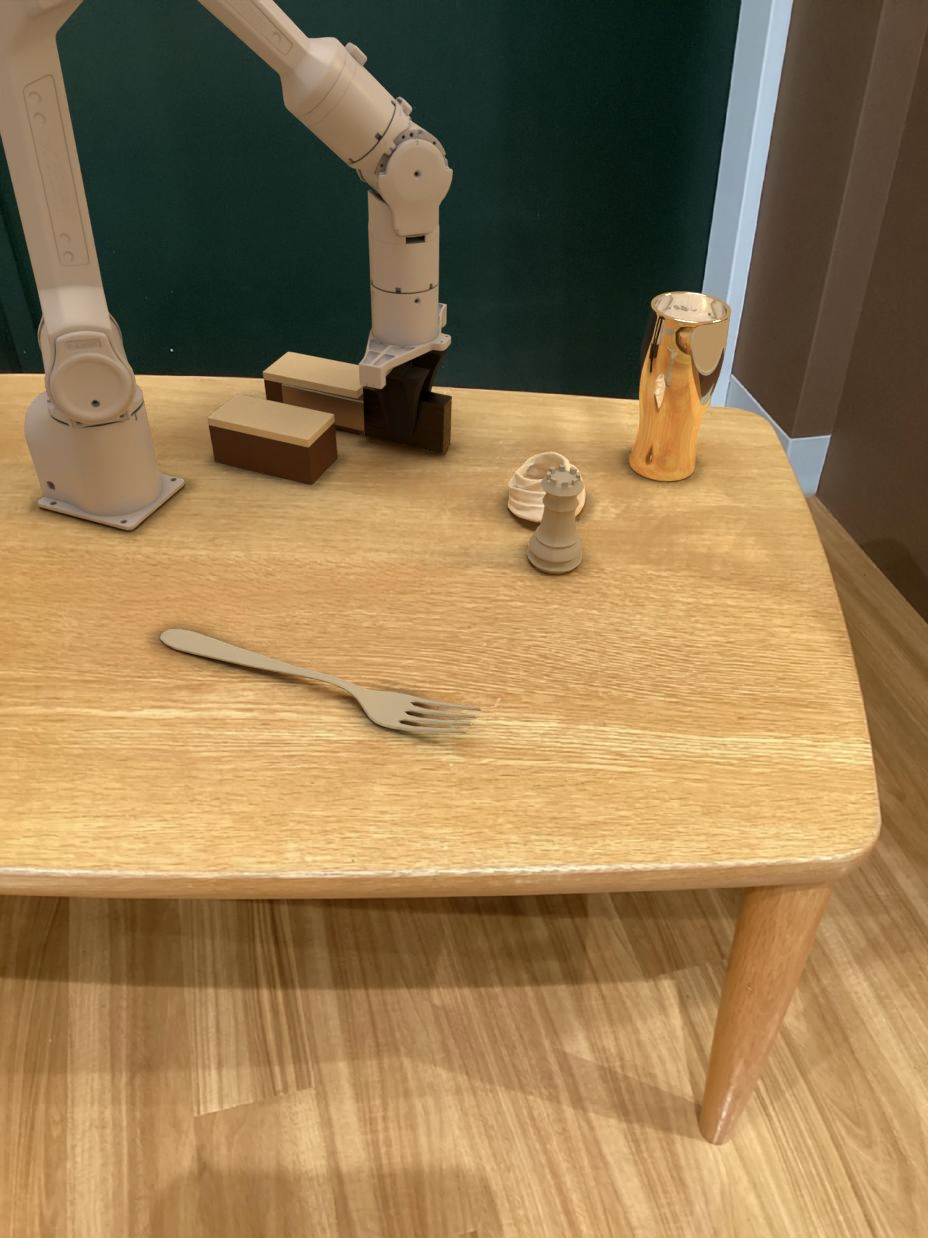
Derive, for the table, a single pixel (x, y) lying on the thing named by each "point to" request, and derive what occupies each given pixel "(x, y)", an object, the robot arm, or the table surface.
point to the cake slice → (313, 378)
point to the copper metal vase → (677, 380)
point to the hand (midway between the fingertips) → (406, 426)
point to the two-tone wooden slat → (381, 415)
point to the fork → (376, 704)
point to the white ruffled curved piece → (536, 486)
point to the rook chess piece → (558, 523)
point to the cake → (273, 438)
